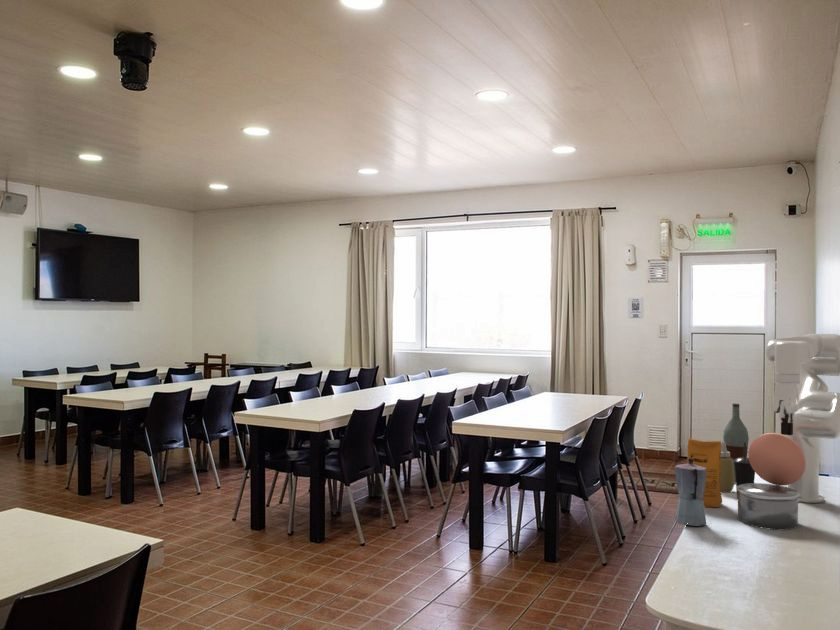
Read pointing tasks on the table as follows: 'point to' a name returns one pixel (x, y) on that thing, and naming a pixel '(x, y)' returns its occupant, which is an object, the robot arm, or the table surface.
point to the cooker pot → (768, 505)
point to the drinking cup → (743, 470)
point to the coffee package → (708, 468)
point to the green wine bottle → (736, 435)
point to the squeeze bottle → (726, 470)
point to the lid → (777, 459)
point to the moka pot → (690, 494)
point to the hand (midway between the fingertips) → (786, 434)
